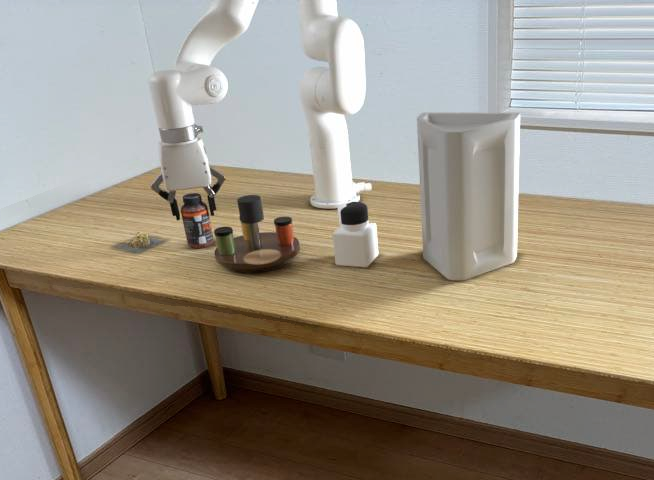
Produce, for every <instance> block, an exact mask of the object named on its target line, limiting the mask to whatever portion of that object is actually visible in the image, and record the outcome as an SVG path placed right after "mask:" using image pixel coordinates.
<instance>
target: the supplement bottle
mask: <svg viewBox="0 0 654 480" xmlns="http://www.w3.org/2000/svg"><path fill="white" fill-rule="evenodd" d="M202 200H203V199H202V195H201V193H199V192H191V193H187V194H184V195H182V203H183V205H182V206H181V207H180V216H181V218H182V219H181V220H182V223H183V228H184V229H183V230H184V232H185V239H186V243H187V245H188V247H190V248H192V249H204V248H208V247H209V246H212V245H213V244H214V243H215V242H214V241H215V239H214V234H213V233H214V232H213V229H212V224H211V217H210V213H209V212H210V211H209V206H208V204H206V203H205V202H204V201H202Z"/></svg>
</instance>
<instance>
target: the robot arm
mask: <svg viewBox="0 0 654 480" xmlns="http://www.w3.org/2000/svg"><path fill="white" fill-rule="evenodd" d="M259 1H260V0H211V1H210V4H209V6H208V8H207V9H206V11H205V12H204V13H203V14H202V16H201V17H199V19H198V21H197V22H196V23H195V24H194V25H193V27H192V28H191V29H190V31H188V33H187V34H186V36H185V38H184V40H183V42H182V43H181V46H180V48H179V50H178V53H177V56H176V58H175V60H174V63H173V66H172V69H165V70H159V71H155V72H153V73H150V75H149V76H148V79H147V83H148V87H149V92H150V97H151V101H152V106H153V110H154V114H155V115H154V116H155V119H156V123H157V127H158V133H159V137H160V141H158V156H159V163H160V170H161V172H160V173H159V174H158V175H157V176H156V178H155V179H154V181H152V183H151V184H150V189H151V190H152V191H154V192H155V193H156V194H157V195H159V197H161V198H162V199H164V200H165V201H167V202H168V203H169V206H170V211H171V215H172V217H175V219H176V221H180V220H181V212H180V210H179V209H180V208H179V204H178V200H177V199H176V193H177V191H185V190H193V189H200V188H202V189H203V190H204V191H205V192H206V194H207V197H206V198H207V204H208V209H209V212H210V213H209V215H210V216H211V217H214V216H215V212H216V211H217V205H216V200H215V197H216V195H217V193H218V192H219V191H220V189H221V187H222V185H223V184H224V183H225V181H226V175H224V174H223V173H221V171H218V170H217V169H215V168H214V167H212V166H210V163H209V159H208V154H207V150H206V148H205V144H204V141H203V139H202V137H201V136H198V135H200V134H201V133H204V129H203V125H197V124H196V123H195V117H194V113H193V107H192V106H204V105H205V106H206V105H214V104H218V103H219V102H221V101H222V100H223V99H224V98H225V97H226V95H227V93H228V90H229V83H228V79H227V77H226V75H225V73H223V71H222V70H220V69H219V68H217V67H215V66H213V65H211V63H212V61H213V60H214V58H215V57H216V56H217V54H218V53H219V51H220V50H222V48H224V47H225V46H227V45H228V44H229V43H230V42H232V41H234V40H235V39H237V38H239V37H240V36H241V35H243V34H244V33H245V32H246V31H247V30H248V28H249V26H250V24H251V21H252V18H253V16H254V13H255V11H256V8H257V6H258V3H259ZM297 2H298V13H299V27H300V39H301V41H300V42H301V46H302V50H303V53H304V54H305V56H306V57H308V58H309V59H310V60H314V61H317V62H325V63H328V67H327V66H326V67H325V66H315V67H311V68H310V69H307V70H306V71H305V73H303V75H302V76H301V78H300V80H299V86H298V92H299V98H300V102H301V105H302V108H303V112H304V117H305V121H306V126H307V133H308V141H309V150H310V151H309V152H310V158H311V159H310V160H311V167H312V168H311V169H312V175H313V183H314V191H315V194H313V195H311V197H310V198H309V202H310V205H311V206H312V207H314V208H318V209H324V210H325V209H326V210H332V209H333V210H334V209H338V207H339V206H340V205H342V204H344V203H347V202H360V199H361V195H360V193H361V192H369V191H370V192H371V191H372V190H373V189H372V183H371V182H367V183H366V182H365V181H361V182H355V181H354V180H353V175H352V166H351V165H352V164H351V155H350V143H349V133H348V125H347V122H346V118H345V116H352V115H354V114H357V112H359V110H361V108H362V107H363V104H364V101H365V97H366V87H367V85H366V57H365V56H366V55H365V42H364V37H363V34H362V32H361V29H360V27H359V25H358V24H357V23H356V22H355V21H354V20H352V19H351V18H349V17H346V16H339V14H338V5H337V0H297ZM212 177H214V178H215V179H216V181H215V183H214V184H213V185H212V186H211V184H212ZM162 183H163V185H164V188H165V189H164V188H163V187H161V184H162ZM166 190H167V191H166Z"/></svg>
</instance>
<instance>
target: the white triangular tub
mask: <svg viewBox="0 0 654 480" xmlns="http://www.w3.org/2000/svg"><path fill="white" fill-rule="evenodd" d="M416 132H417V133H416V134H417V153H418V155H417V156H418V173H419V174H418V175H419V195H420V196H419V197H420V198H419V199H420V216H421V219H420V220H421V237H422V238H421V239H422V257H423V259H424V260H425V261H426V262H427V263H428V264H430V265H431V266H432V267H433V268H434V269H436V270H437V271H438V273H440V274H441V275H442V276H443V277H445V279H447V280H449V281H458V282H459V281H461V282H463V281H466V280H469V279H472V278H475V277H477V276H481V275H483V274H486V273H489V272H492V271H494V270H495V271H496V270H497V269H501V268H503V267H506V266H508V265H512V264H513V263H515V261H516V259H517V257H518V230H519V229H518V226H519V221H518V220H519V181H520V178H519V177H520V140H521V139H520V138H521V137H520V136H521V135H520V134H521V133H520V132H521V113H520V112H421V113H420V114H419V115H417V116H416Z"/></svg>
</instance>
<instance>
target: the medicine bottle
mask: <svg viewBox="0 0 654 480" xmlns="http://www.w3.org/2000/svg"><path fill="white" fill-rule="evenodd" d="M367 205H368V204H366V203H364V202H362V201H358V202H347V203H344V204H342V205H340V206H339V207H338V208H337V217H338V225H339V226H338V227H337V228H336V229H335V230H334V231H333V232H332V235H331V236H332V242H333V243H332V244H333V253H334V261H335V265H336V266H341V267H355V268H368V267H369V266H370V265H371V264H372V263H373V261H374V260H376V258H377V257H379V254H380V253H379V244H378V243H379V242H378V241H379V240H378V229H377V228H378V227H377V223H375V222H370V221H369V210H368V209H369V208H368V206H367Z"/></svg>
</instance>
